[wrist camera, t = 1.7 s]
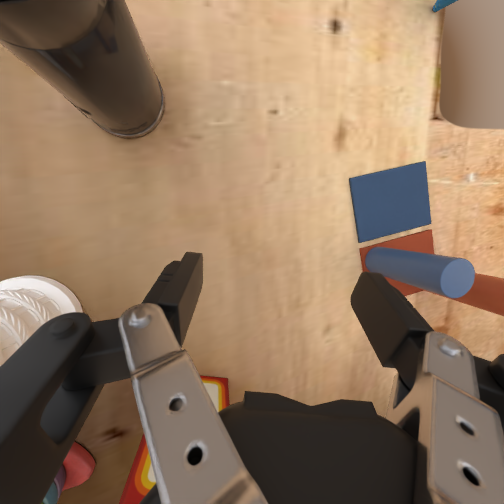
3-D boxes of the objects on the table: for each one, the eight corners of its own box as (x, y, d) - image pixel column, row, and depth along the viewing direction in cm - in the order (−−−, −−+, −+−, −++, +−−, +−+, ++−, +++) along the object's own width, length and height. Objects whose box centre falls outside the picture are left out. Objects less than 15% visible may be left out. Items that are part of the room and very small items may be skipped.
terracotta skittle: (410, 267, 36) (503, 288, 24) (433, 260, 37) (535, 278, 25) (413, 291, 37) (504, 324, 25) (435, 284, 37) (535, 313, 26)
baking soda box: (157, 411, 33) (102, 582, 17) (165, 371, 32) (115, 512, 17) (218, 415, 35) (220, 575, 19) (227, 378, 34) (236, 511, 18)
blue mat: (348, 178, 33) (350, 178, 32) (423, 161, 34) (425, 161, 34) (358, 242, 34) (360, 242, 34) (429, 223, 36) (431, 223, 36)
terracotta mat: (359, 248, 35) (361, 248, 34) (429, 229, 36) (431, 229, 36) (368, 306, 36) (369, 307, 36) (434, 285, 38) (437, 286, 37)
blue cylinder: (363, 250, 34) (438, 264, 23) (387, 243, 35) (474, 253, 23) (366, 276, 35) (442, 303, 23) (390, 269, 36) (476, 292, 24)
